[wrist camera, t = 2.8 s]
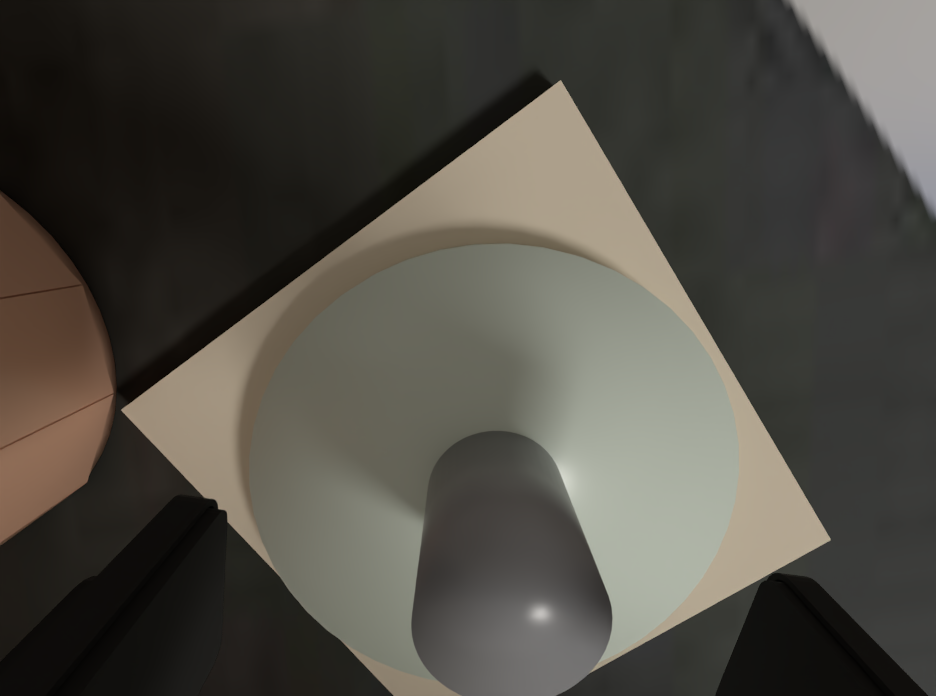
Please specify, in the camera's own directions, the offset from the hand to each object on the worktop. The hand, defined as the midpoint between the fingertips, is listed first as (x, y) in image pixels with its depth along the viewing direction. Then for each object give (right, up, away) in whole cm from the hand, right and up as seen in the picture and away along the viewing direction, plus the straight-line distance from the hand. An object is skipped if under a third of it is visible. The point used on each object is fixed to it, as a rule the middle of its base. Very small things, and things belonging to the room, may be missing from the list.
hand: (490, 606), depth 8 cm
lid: (0, +1, +5) cm, 5 cm away
